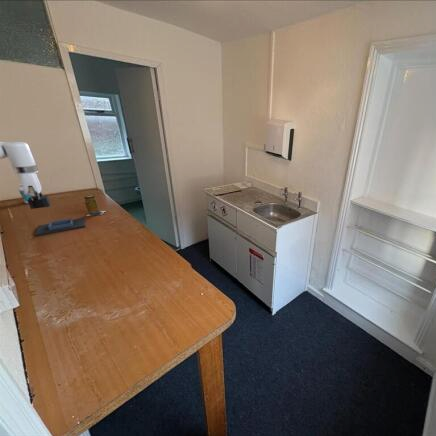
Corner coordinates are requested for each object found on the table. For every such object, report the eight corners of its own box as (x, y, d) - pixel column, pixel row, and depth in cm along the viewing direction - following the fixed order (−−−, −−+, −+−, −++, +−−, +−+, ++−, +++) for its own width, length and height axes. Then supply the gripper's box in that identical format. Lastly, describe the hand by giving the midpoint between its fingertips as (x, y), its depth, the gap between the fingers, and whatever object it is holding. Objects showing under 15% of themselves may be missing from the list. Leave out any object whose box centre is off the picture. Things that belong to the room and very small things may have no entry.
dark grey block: (31, 209, 112) (27, 200, 110) (32, 206, 116) (29, 197, 114) (49, 206, 116) (46, 198, 114) (50, 203, 120) (47, 195, 118)
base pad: (35, 236, 122) (33, 231, 120) (38, 227, 131) (36, 222, 130) (85, 227, 134) (83, 222, 132) (84, 219, 143) (83, 214, 142)
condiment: (90, 212, 154) (85, 194, 149) (106, 211, 156) (101, 194, 151) (86, 216, 147) (79, 198, 142) (102, 215, 150) (96, 197, 145)
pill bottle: (25, 201, 165) (16, 183, 160) (39, 199, 170) (32, 181, 165) (24, 204, 160) (15, 185, 155) (39, 202, 165) (31, 184, 160)
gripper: (18, 167, 112) (33, 202, 120) (9, 174, 100) (26, 212, 108) (39, 165, 117) (53, 199, 124) (34, 172, 105) (49, 209, 112)
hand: (40, 205), depth 116 cm, fingers closed on dark grey block, 5 cm apart
